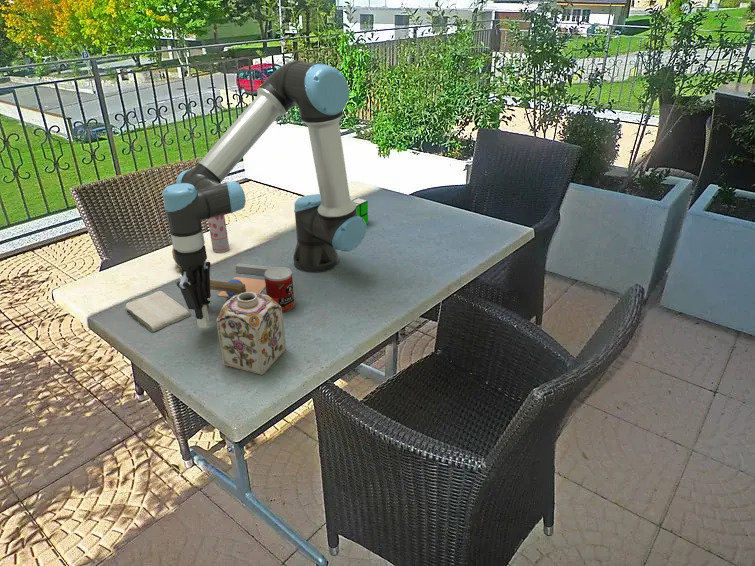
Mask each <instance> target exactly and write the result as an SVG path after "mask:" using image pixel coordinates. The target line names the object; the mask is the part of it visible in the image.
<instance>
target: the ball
mask: <svg viewBox="0 0 755 566" xmlns="http://www.w3.org/2000/svg"><path fill="white" fill-rule="evenodd" d="M227 282H230V283H239V284H243V283H242V282H241V281H240V280H237V279H233V278H232V279H230V280H228V281H227ZM226 293H227V294H228V295H229V296H230V297H229V298H231V297H233V296H235V294H234V292H226Z"/></svg>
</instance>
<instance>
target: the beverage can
mask: <svg viewBox="0 0 755 566" xmlns="http://www.w3.org/2000/svg"><path fill="white" fill-rule="evenodd" d="M207 222H208V228H209V236H210V242H211V248H212V251H213V252H214V253H217V254H222V253H226V252H228V251H229V249H230V245H229V244H230V243H229V236H228V231H227V224H226V218H225V215H222V216H218V217H214V218H210V219H207Z"/></svg>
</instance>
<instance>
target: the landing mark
mask: <svg viewBox="0 0 755 566" xmlns="http://www.w3.org/2000/svg"><path fill="white" fill-rule="evenodd" d="M232 279H237V280H240V281H241V282H242V283H243V284H245V287H246V292H256V293H260V294H262V292H263V291H264V290H265V289H266V284H265V279H259V278H258V279H257V278H256V279H255V278H248V277H239V276H234V277H233V278H232ZM217 297H225V298H232V297H230V296H229V295H228V294H227V293H226V291H219V293H218V294H217Z"/></svg>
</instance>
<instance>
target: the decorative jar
mask: <svg viewBox="0 0 755 566" xmlns="http://www.w3.org/2000/svg"><path fill="white" fill-rule="evenodd" d="M215 321H216V322H215V323H216V328H217V335H218V340H219V347H220V352H221V353H220V354H221V358H222V362H223V365H224V366H227V367H231V368H234V369H237V370H242V371H246V372H250V373H254V374H258V375H262V376H263V375H264V374H265V373H266V372H267V371H268V370H269V369H270V368H271V366H273V364H274V363H275V362H276V361H277V360H278V359H279V358H280V357H281V355H282V354H284V352H285V351H287V350H286V349H287V348H286V347H287V346H286V345H287V344H286V333H285V325H284V323H285V322H284V316H283V312H282V307H281V306H280V305H279V304H278V303H277V302H275V301H274V300H273V299H272V298H271V297H269V296H268V295H267V294H264V293H256V292H245V293H241V294H239V295H235V296H233V297H232V298H231V297H229V298H228V300H226V302H225V303H223V304H222V308H221V309H220V312H219V313H218V315H217V318H216V320H215Z"/></svg>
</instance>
